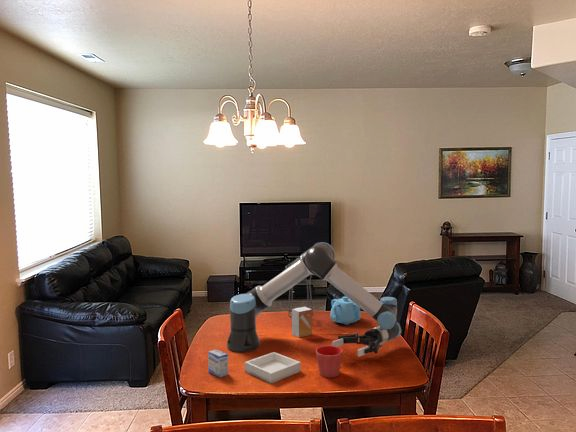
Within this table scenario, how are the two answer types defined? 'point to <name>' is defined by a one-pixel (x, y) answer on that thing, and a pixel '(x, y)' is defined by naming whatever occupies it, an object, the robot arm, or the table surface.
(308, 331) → the small box
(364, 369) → the table surface
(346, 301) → the decorative pot
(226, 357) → the medicine box
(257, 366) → the white square tray
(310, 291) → the geometric lantern
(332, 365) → the flower pot
